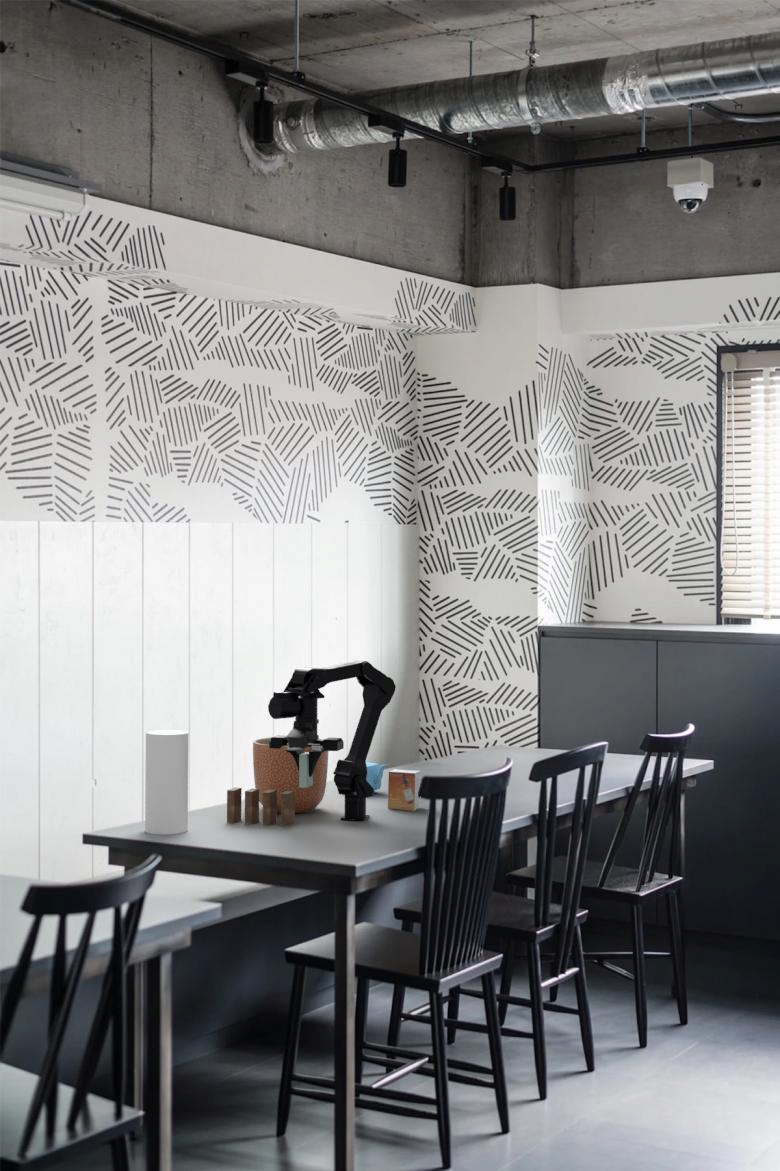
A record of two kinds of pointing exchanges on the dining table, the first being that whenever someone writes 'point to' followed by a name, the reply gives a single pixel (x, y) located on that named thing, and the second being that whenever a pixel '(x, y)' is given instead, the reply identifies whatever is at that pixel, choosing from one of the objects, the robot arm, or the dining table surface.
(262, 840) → the dining table surface
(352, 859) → the dining table surface
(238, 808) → the domino
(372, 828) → the dining table surface
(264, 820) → the domino
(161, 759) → the tall pillar cylinder
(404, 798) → the small box
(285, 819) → the domino
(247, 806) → the domino
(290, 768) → the planter
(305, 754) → the domino
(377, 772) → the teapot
